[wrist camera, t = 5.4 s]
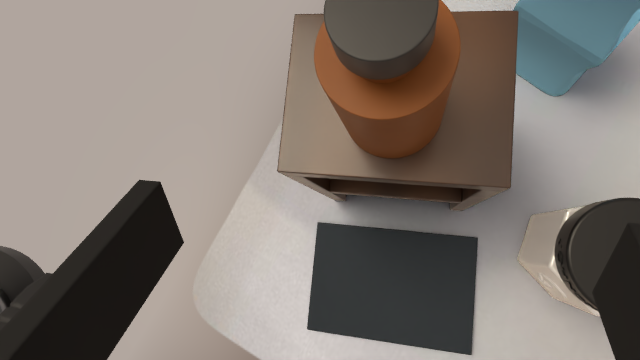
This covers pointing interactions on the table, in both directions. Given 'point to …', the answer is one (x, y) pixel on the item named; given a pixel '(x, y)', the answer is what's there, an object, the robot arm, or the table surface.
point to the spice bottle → (388, 70)
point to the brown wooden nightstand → (439, 154)
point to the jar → (575, 248)
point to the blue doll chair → (569, 38)
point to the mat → (394, 286)
